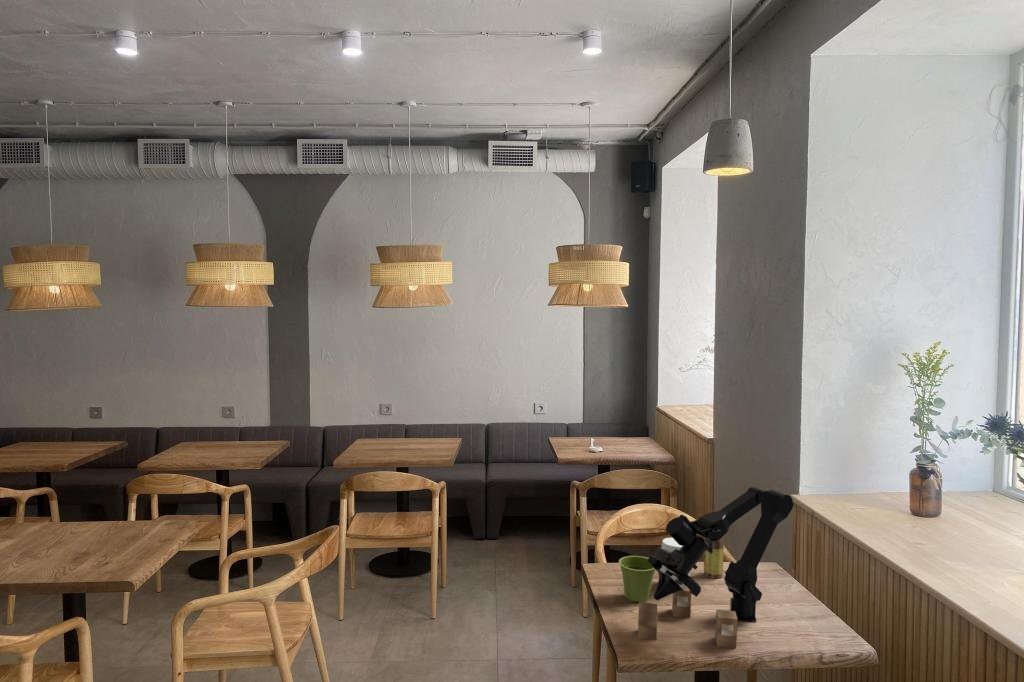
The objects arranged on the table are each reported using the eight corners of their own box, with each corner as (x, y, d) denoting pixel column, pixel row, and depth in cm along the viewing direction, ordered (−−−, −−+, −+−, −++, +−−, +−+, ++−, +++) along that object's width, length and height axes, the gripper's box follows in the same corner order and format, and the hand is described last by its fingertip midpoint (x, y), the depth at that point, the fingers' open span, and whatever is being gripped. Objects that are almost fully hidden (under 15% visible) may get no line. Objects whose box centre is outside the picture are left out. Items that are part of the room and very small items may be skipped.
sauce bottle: (708, 570, 249) (710, 513, 247) (725, 575, 245) (728, 517, 243) (699, 576, 243) (702, 518, 242) (717, 581, 240) (720, 522, 238)
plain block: (656, 631, 203) (657, 603, 202) (656, 639, 198) (657, 611, 197) (638, 629, 204) (638, 602, 203) (637, 638, 199) (638, 609, 198)
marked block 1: (689, 610, 217) (690, 584, 216) (690, 618, 212) (691, 591, 211) (672, 609, 218) (673, 583, 217) (672, 616, 212) (673, 590, 212)
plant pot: (612, 601, 222) (613, 565, 222) (625, 587, 233) (626, 553, 232) (649, 609, 217) (651, 572, 216) (661, 595, 227) (662, 560, 227)
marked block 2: (733, 639, 199) (735, 611, 199) (736, 648, 194) (737, 619, 193) (715, 637, 200) (716, 609, 199) (717, 646, 195) (718, 617, 194)
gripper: (653, 527, 210) (620, 569, 207) (693, 549, 193) (657, 595, 190) (675, 550, 214) (642, 592, 211) (716, 573, 197) (681, 619, 193)
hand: (654, 599), depth 201 cm, fingers closed
